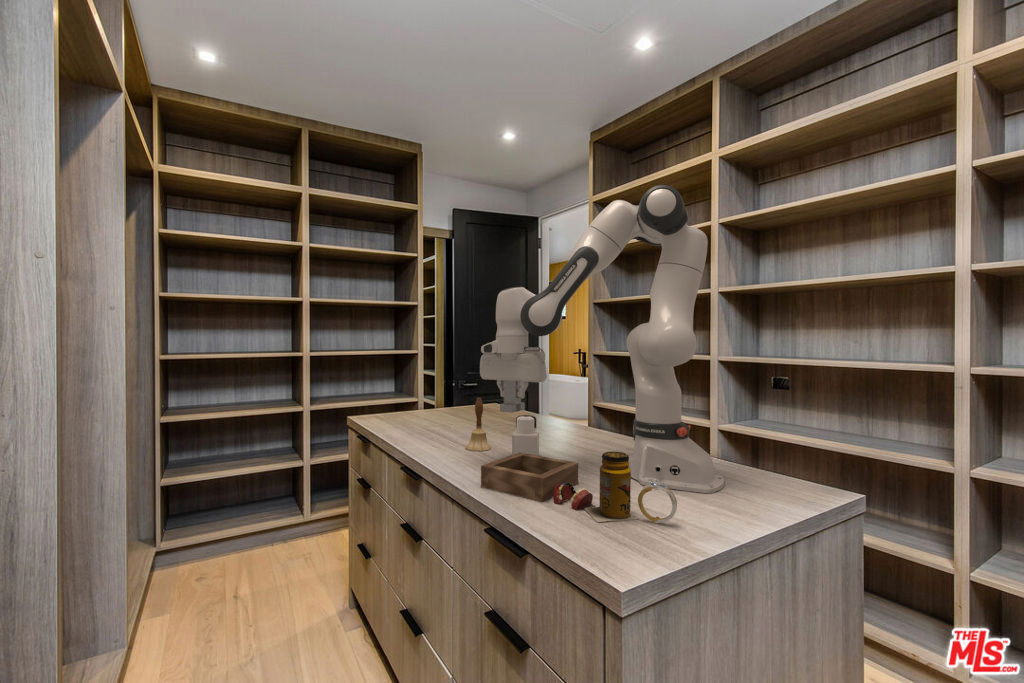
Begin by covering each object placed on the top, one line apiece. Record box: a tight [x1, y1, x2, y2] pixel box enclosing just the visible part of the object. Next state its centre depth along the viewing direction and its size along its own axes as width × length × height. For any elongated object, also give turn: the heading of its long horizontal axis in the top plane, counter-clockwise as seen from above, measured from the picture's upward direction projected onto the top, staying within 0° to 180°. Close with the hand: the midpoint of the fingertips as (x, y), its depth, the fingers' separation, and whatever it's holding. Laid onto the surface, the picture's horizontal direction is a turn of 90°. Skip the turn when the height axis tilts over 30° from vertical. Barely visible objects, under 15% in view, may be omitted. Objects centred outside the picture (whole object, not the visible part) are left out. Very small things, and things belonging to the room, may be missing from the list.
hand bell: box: [465, 397, 492, 452], centre depth 151 cm, size 8×8×16 cm
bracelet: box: [637, 479, 678, 525], centre depth 90 cm, size 7×3×8 cm, turn 55°
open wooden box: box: [480, 453, 579, 503], centre depth 113 cm, size 17×16×5 cm
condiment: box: [583, 450, 639, 523], centre depth 95 cm, size 7×8×12 cm
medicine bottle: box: [511, 414, 540, 456], centre depth 140 cm, size 7×7×12 cm
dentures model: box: [552, 483, 594, 511], centre depth 101 cm, size 6×4×8 cm
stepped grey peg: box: [499, 380, 526, 414], centre depth 131 cm, size 4×6×9 cm, turn 145°
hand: (512, 397), depth 131 cm, fingers closed on stepped grey peg, 4 cm apart
